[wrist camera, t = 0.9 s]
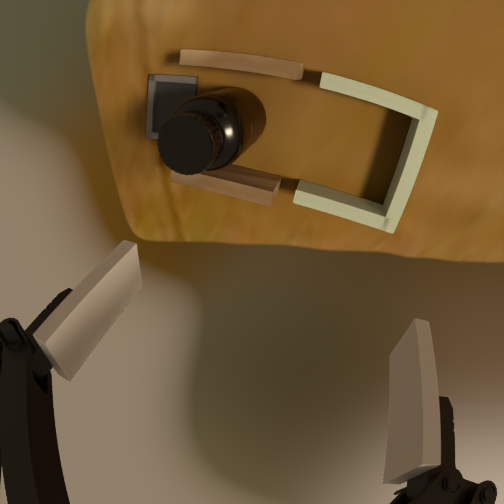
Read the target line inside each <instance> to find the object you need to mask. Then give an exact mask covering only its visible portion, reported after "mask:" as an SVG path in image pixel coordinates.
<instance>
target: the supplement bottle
mask: <svg viewBox="0 0 504 504" xmlns="http://www.w3.org/2000/svg"><path fill="white" fill-rule="evenodd" d="M265 125H266V113H265V109H264V107H263V104H262V103H261V101H260V100H259V99H258V97H257V96H255V95H254V94H253V93H252V92H250V91H248V90H246V89H243V88H237V87H231V88H224V89H220V90H216V91H212V92H208V93H204V94H200V95H197V96H194V97H191V98H189V99H187V100H185V101H184V102H183V103H181V104H180V105H179V106H178V107H177V109H176V110H175V111H174V113H173V115H172V117H171V119H168V120H167V121H166V123H164V124H163V126H162V128H161V129H160V132H159V134H158V139H157V141H158V144H157V146H158V151H159V153H160V157H161V158H162V159H163V162H164V163H166V165H167V166H168V167H169V168H170V169H171V170H174V171H175V172H176V173H179V174H181V175H183V174H184V175H186V176H187V175H194V174H199V173H200V172H203V171H205V172H213V171H218V170H221V169H224V168H226V167H227V166H229V165H230V164H232V163H233V162H234V161H235V160H236V159H237V158H238V157H240V156H241V155H242V154H243V153H244V152H245V151H246V150H247V149H248V148H249V147H250V146H251V145H252V144H254V143H255V142H256V141H257V140H258V138H259V137H260V136H261V134H262V133H263V131H264V128H265Z"/></svg>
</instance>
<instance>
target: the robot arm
mask: <svg viewBox="0 0 504 504" xmlns="http://www.w3.org/2000/svg"><path fill="white" fill-rule="evenodd" d="M142 287H143V284H142V278H141V272H140V265H139V259H138V252H137V244H136V243H133V242H129V241H126V240H123V242H121V243H120V244H119V245H118V246H117V247H116V248H115V249H114V250H113V251H112V252H111V253H110V254H109V255H108V256H107V257H105V258H104V259H103V260H102V262H100V263H99V264H98V265H97V266H96V267H95V268H94V269H93V270H92V271H91V272H90V273H89V274H88V275H87V276H86V277H85V278H84V280H82V281H81V283H80V284H78V285H77V287H76V288H75V289H74V290H72V289H70V288H68V289H66V290H64V291H63V292H61V293H59V294H58V295H57V296H56V297H55V298H54V299H53V301H52V303H50V304H49V305H48V306H47V307H46V309H44V310H43V311H42V312H41V313H40V314H39V316H38V317H37V318H36V319H35V320H34V321H33V322H32V323H31V324H30V326H29V327H28V328H27V329H26V330H25V331H24V330H23V328H22V326H21V325H20V323H19V322H18V320H17V319H15V318H7V319H4V320H3V321H2V322H1V323H0V482H1V467H2V468H3V477H4V484H5V489H6V496H7V501H8V504H70V502H69V498H68V494H67V490H66V486H65V482H64V477H63V472H62V467H61V461H60V456H59V450H58V443H57V436H56V428H55V418H54V409H53V394H52V375H51V371H50V370H51V369H52V367H54V369H55V370H56V372H57V373H58V374H59V375H61V376H62V377H63V378H65V379H66V380H68V381H71V380H72V378H73V377H74V375H75V374H76V373H77V371H78V370H79V369H80V367H81V366H82V364H83V363H84V362H85V360H86V359H87V357H88V356H89V355H90V353H91V352H92V351H93V349H94V348H95V347H96V346H97V344H98V343H99V342H100V340H101V339H102V338H103V336H104V335H105V334H106V332H107V331H108V330H109V328H110V327H111V326H112V325H113V323H114V322H115V320H116V319H117V318H118V317H119V316H120V314H121V313H122V312H123V310H124V309H125V308H126V307H127V305H128V304H129V303H130V301H131V300H132V299H133V298H134V296H135V295H136V294H137V293H138V292H139V290H140V289H141V288H142ZM453 419H454V418H453V408H452V406H451V403H450V401H449V398H448V397H440V396H439V393H438V383H437V373H436V365H435V358H434V350H433V343H432V337H431V331H430V325H429V322H428V321H424V320H420V319H416V318H415V319H414V320H413V322H412V323H411V325H410V326H409V328H408V330H407V331H406V333H405V334H404V336H403V337H402V338H401V340H400V341H399V343H398V344H397V346H396V347H395V349H394V350H393V351H392V353H391V354H390V402H389V424H388V439H387V451H386V461H385V470H384V478H383V484H401V483H404V482H406V481H407V487H405V488H403V489H400V490H398V491H396V492H395V493H394V495H397V494H399V493H400V494H399V495H398V496H397V497H396V498H395V499H394V500H393V501H392V502H391V503H390V504H494V503H495V500H496V496H497V488H496V486H495V484H494V483H493V482H492V481H488V480H487V481H484V482H481V483H480V484H477V483H474V482H471V481H468V480H465V479H464V478H463V477H462V474H461V473H460V471H459V470H457V469H456V467H455V436H454V422H453Z"/></svg>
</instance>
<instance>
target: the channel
mask: <svg viewBox="0 0 504 504" xmlns="http://www.w3.org/2000/svg"><path fill="white" fill-rule="evenodd" d="M179 65H191V66H204V67H215V68H224V69H233V70H241V71H248V72H254V73H261V74H267V75H272V76H278V77H283V78H288V79H293V80H299V79H302V77H303V72H304V67H305V64H301V63H297V62H292V61H287V60H281V59H275V58H269V57H262V56H255V55H248V54H240V53H230V52H219V51H206V50H185V49H181V54H180V62H179ZM281 179H282V177H281V176H277V175H273V174H269V173H265V172H261V171H257V170H253V169H249V168H245V167H241V166H236V165H232V164H230V165H229V166H227V167H226V168H224V169H221V170H218V171H213V172H205V171H203V172H200V173H199V174H194V175H187V176H186V175H184V174H183V175H181V174H179V173H176V172H175V171H174V170H171V182H175V183H180V184H184V185H188V186H192V187H196V188H200V189H204V190H208V191H212V192H216V193H220V194H224V195H228V196H232V197H236V198H240V199H243V200H247V201H251V202H255V203H258V204H262V205H266V206H269V207H270V206H271V204H272V202H273V200H274V198H275V197H276V195H277V193H278V191H279V188H280V184H281Z"/></svg>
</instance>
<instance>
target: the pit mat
mask: <svg viewBox="0 0 504 504" xmlns="http://www.w3.org/2000/svg"><path fill="white" fill-rule="evenodd" d="M197 82H198V77H194V76H181V75H163V74H149V86H148V102H147V123H146V138H151V139H158V134H159V132H160V129H161V128H162V126H163V124H164V123H166V121H167V120H168V119H171V117H172V115H173V113H174V111H175V110H176V109H177V107H178V106H179V105H180V104H181V103H183V102H184V101H185V100H187V99H189V98H191V97H194V96H196V91H197Z"/></svg>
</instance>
